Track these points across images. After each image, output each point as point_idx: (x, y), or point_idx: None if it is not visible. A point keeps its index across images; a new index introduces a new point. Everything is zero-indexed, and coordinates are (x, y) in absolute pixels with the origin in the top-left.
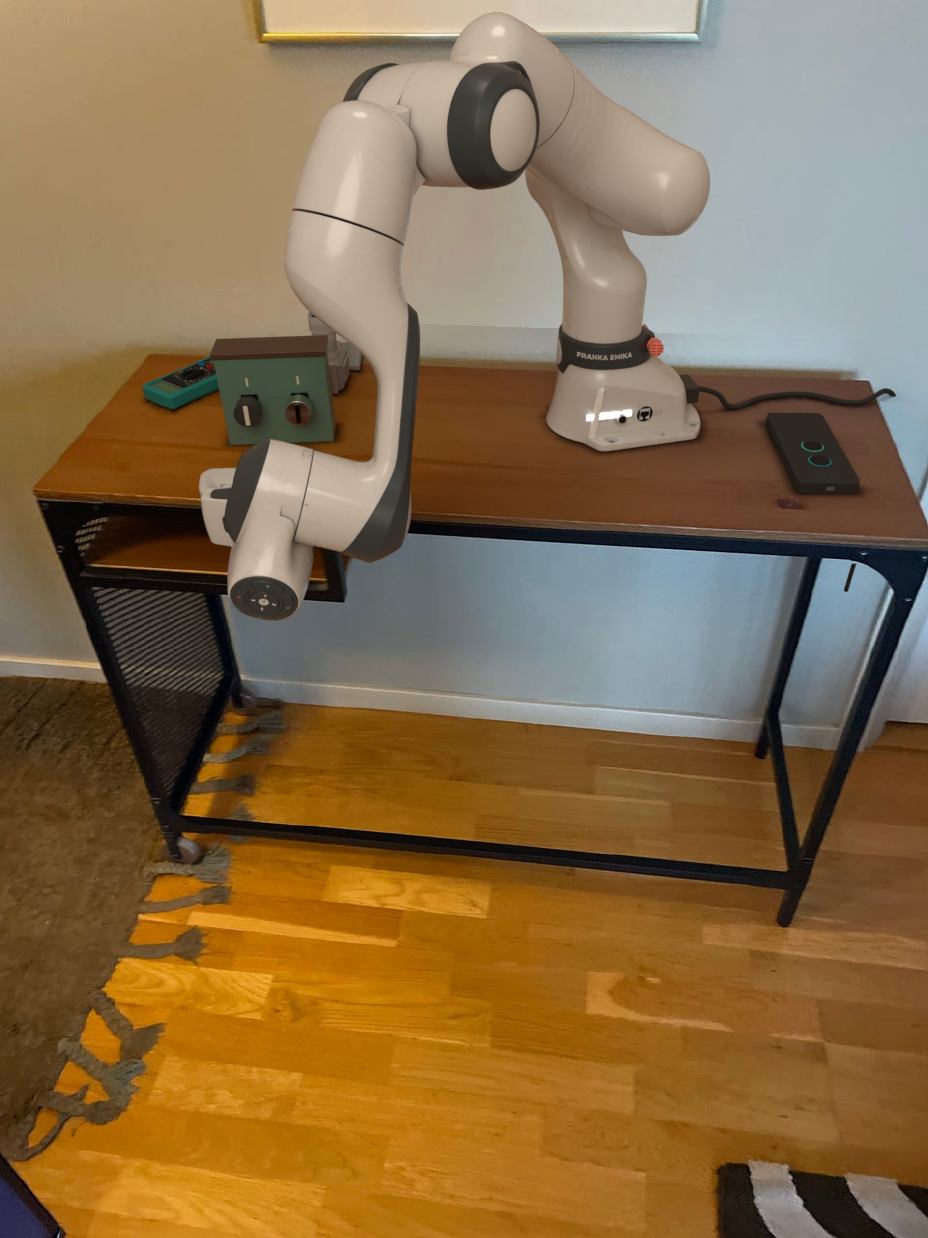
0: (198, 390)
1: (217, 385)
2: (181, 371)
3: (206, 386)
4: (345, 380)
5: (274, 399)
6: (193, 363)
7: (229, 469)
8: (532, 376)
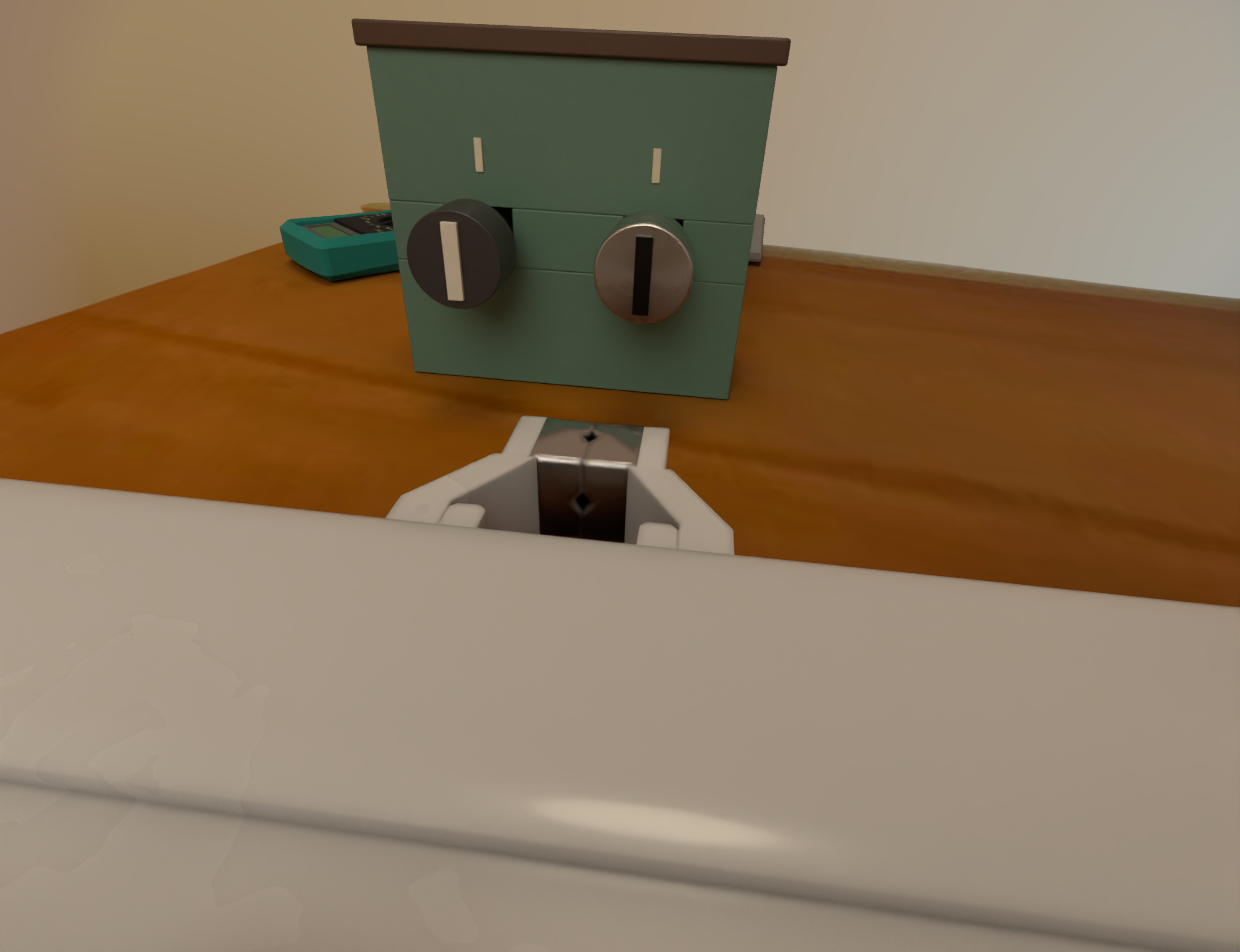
0: None
1: None
2: (382, 214)
3: None
4: None
5: (564, 234)
6: None
7: (8, 504)
8: (1183, 314)
